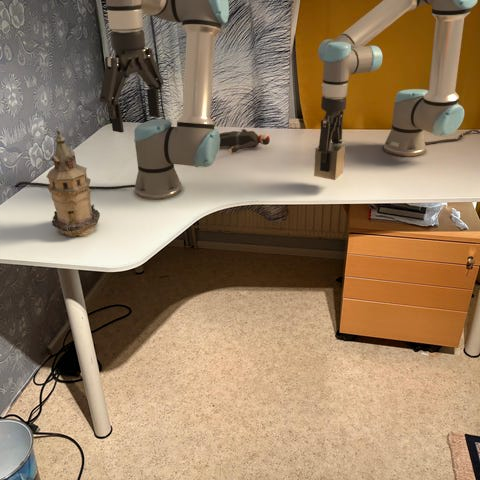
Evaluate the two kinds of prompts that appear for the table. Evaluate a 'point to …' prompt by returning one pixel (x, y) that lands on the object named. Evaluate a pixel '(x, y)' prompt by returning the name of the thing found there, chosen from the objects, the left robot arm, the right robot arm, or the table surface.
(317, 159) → the block
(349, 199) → the table surface
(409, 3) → the right robot arm
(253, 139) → the toy
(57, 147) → the miniature building
